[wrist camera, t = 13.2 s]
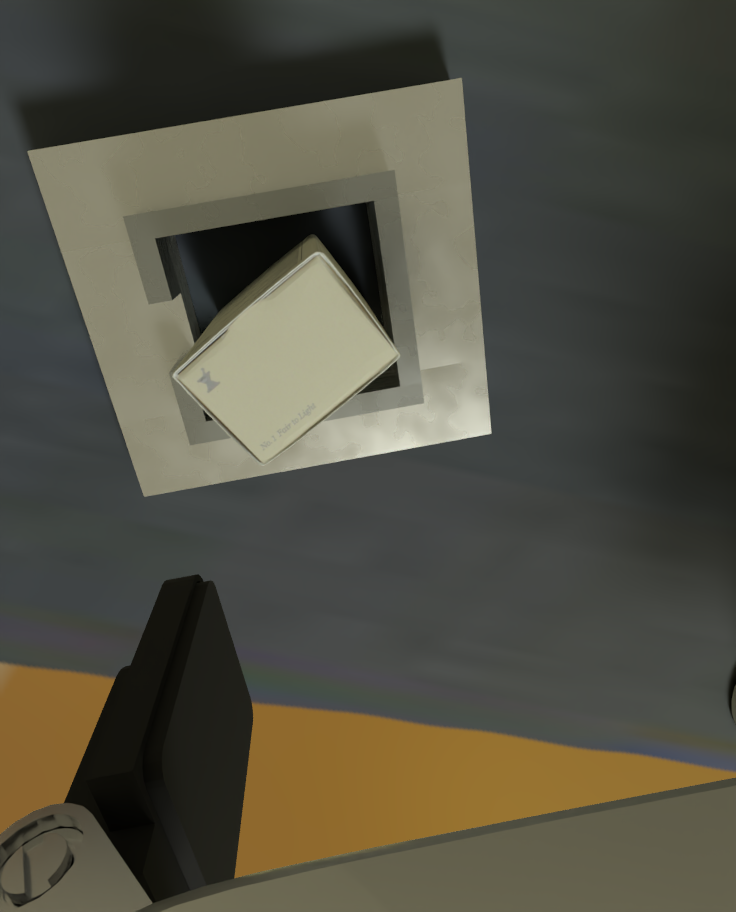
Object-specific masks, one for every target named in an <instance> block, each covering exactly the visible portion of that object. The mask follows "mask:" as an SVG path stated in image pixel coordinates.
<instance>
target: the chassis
mask: <svg viewBox="0 0 736 912" xmlns="http://www.w3.org/2000/svg"><path fill="white" fill-rule="evenodd" d="M27 152H28V155H29V158H30V161H31V164H32V167H33V170H34V173H35V176H36V179H37V182H38V184H39V187H40V190H41V193H42V196H43V199H44V202H45V205H46V208H47V211H48V214H49V217H50V220H51V223H52V226H53V229H54V232H55V235H56V238H57V241H58V244H59V247H60V250H61V252H62V255H63V258H64V261H65V264H66V267H67V270H68V273H69V276H70V279H71V282H72V285H73V288H74V291H75V294H76V297H77V300H78V303H79V306H80V309H81V312H82V315H83V317H84V320H85V323H86V326H87V329H88V332H89V335H90V338H91V341H92V344H93V347H94V350H95V353H96V356H97V359H98V362H99V365H100V368H101V371H102V374H103V377H104V380H105V382H106V385H107V388H108V391H109V394H110V397H111V400H112V403H113V406H114V409H115V412H116V415H117V418H118V421H119V424H120V427H121V430H122V433H123V436H124V439H125V442H126V445H127V447H128V450H129V453H130V456H131V459H132V462H133V465H134V468H135V471H136V474H137V477H138V480H139V483H140V486H141V489H142V492H143V495H144V497H146V496H151V495H157V494H162V493H168V492H173V491H179V490H184V489H190V488H195V487H201V486H206V485H212V484H217V483H223V482H228V481H234V480H239V479H245V478H250V477H256V476H261V475H267V474H272V473H278V472H283V471H289V470H294V469H300V468H305V467H311V466H316V465H322V464H327V463H333V462H338V461H344V460H349V459H355V458H360V457H366V456H371V455H377V454H382V453H388V452H393V451H399V450H404V449H410V448H415V447H421V446H426V445H432V444H437V443H443V442H448V441H454V440H459V439H465V438H470V437H476V436H481V435H487V434H491V424H490V412H489V400H488V388H487V376H486V364H485V352H484V340H483V328H482V316H481V304H480V292H479V280H478V268H477V256H476V244H475V232H474V220H473V208H472V196H471V184H470V172H469V160H468V148H467V136H466V124H465V112H464V100H463V88H462V78H458V79H453V80H447V81H441V82H435V83H429V84H423V85H417V86H411V87H405V88H399V89H393V90H387V91H381V92H375V93H369V94H363V95H357V96H351V97H346V98H340V99H334V100H328V101H322V102H316V103H310V104H304V105H298V106H292V107H286V108H280V109H274V110H268V111H262V112H256V113H250V114H244V115H239V116H233V117H227V118H221V119H215V120H209V121H203V122H197V123H191V124H185V125H179V126H173V127H167V128H161V129H155V130H149V131H143V132H138V133H132V134H126V135H120V136H114V137H108V138H102V139H96V140H90V141H84V142H78V143H72V144H66V145H60V146H54V147H48V148H42V149H36V150H31V151H27ZM363 202H366V207H367V214H368V221H369V228H370V234H371V241H372V248H373V255H374V262H375V268H376V275H377V282H378V289H379V296H380V303H381V309H382V316H383V323H384V330H385V331H386V333H387V334H388V336H389V338H390V339H391V340H392V342H393V343H394V345H395V347H396V348H397V349H398V351H399V353H400V357H399V359H398V360H397V361H396V362H394V363H393V364H392V365H391V366H390V367H389V368H388V369H386V370H385V371H384V372H383V373H382V374H380V375H379V376H378V377H377V378H376V379H374V380H373V381H372V382H371V383H370V384H368V385H367V386H366V387H365V388H364V389H363V390H361V391H360V392H359V393H358V394H356V395H355V396H354V397H353V398H352V399H350V400H349V401H348V402H347V403H345V404H344V405H343V406H342V407H340V408H339V409H338V410H337V411H336V412H334V413H333V414H332V415H331V416H329V417H328V418H327V419H326V420H325V421H323V422H322V423H321V424H319V425H318V426H317V427H316V428H314V429H313V430H312V431H310V432H309V433H308V434H307V435H305V436H304V437H303V438H302V439H300V440H299V441H297V442H296V443H295V444H294V445H292V446H291V447H290V448H288V449H287V450H286V451H284V452H283V453H281V454H280V455H279V456H277V457H276V458H275V459H273V460H272V461H270V462H269V463H267V464H266V465H264V466H262V465H259V464H258V463H256V462H255V461H254V460H253V459H252V458H251V457H250V456H249V455H248V454H247V453H246V452H245V451H244V450H243V449H242V448H241V447H240V446H239V445H238V444H237V443H236V442H235V441H234V440H233V439H232V438H231V437H229V436H228V435H227V433H226V432H225V431H224V430H223V429H222V428H221V427H220V426H219V425H218V424H217V423H216V422H215V421H214V420H213V419H212V418H211V417H210V416H209V415H208V414H207V413H206V412H205V411H204V410H203V409H202V408H201V407H200V406H199V404H198V403H197V402H196V401H195V400H194V399H193V398H192V397H191V396H190V395H189V394H188V393H187V392H186V391H185V390H184V388H183V387H182V386H181V385H180V384H179V383H178V382H177V381H176V380H175V379H174V378H173V377H172V374H173V372H174V370H175V369H176V368H177V366H178V365H179V364H180V362H181V361H182V360H183V358H184V357H185V356H186V355H187V353H188V352H189V351H190V349H191V348H192V347H193V345H194V344H195V343H196V341H197V340H198V339H199V338H200V336H201V333H200V329H199V325H198V321H197V318H196V314H195V310H194V306H193V303H192V299H191V295H190V291H189V287H188V284H187V280H186V276H185V272H184V269H183V265H182V261H181V257H180V254H179V250H178V246H177V242H176V239H175V235H177V234H183V233H189V232H195V231H201V230H206V229H212V228H218V227H224V226H230V225H235V224H241V223H247V222H253V221H259V220H265V219H270V218H276V217H282V216H288V215H294V214H299V213H305V212H311V211H317V210H323V209H328V208H334V207H340V206H346V205H352V204H357V203H363Z"/></svg>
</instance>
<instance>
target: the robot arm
mask: <svg viewBox="0 0 736 912" xmlns="http://www.w3.org/2000/svg"><path fill="white" fill-rule="evenodd" d="M732 715H733V719H734V722H735V725H736V685H735V687H734V692H733V696H732ZM252 725H253V710H252V703H251V698H250V695H249V692H248V689H247V686H246V682H245V679H244V676H243V673H242V670H241V666H240V663H239V660H238V657H237V654H236V651H235V647H234V644H233V641H232V638H231V635H230V631H229V628H228V625H227V622H226V619H225V615H224V612H223V609H222V606H221V603H220V600H219V596H218V593H217V590H216V587H215V585H214V583H213V581H206V582H203V579H202V578H201V576H200V575H198V574H197V575H192V576H187V577H181V578H176V579H171V580H166V581H164V583H163V585H162V587H161V590H160V592H159V595H158V597H157V600H156V602H155V605H154V607H153V610H152V613H151V615H150V618H149V620H148V623H147V625H146V628H145V630H144V633H143V635H142V638H141V640H140V643H139V645H138V648H137V651H136V653H135V656H134V658H133V661H132V663H131V665H130V666H125V667H124V668H122V669H121V670H120V672H119V673H118V675H117V677H116V679H115V681H114V684H113V686H112V689H111V691H110V693H109V696H108V698H107V701H106V703H105V706H104V708H103V710H102V713H101V715H100V717H99V720H98V722H97V725H96V727H95V729H94V732H93V734H92V737H91V739H90V741H89V744H88V746H87V749H86V751H85V754H84V756H83V758H82V761H81V763H80V766H79V768H78V770H77V773H76V775H75V778H74V780H73V782H72V785H71V787H70V790H69V792H68V795H67V797H66V799H65V802H64V803H63V804H54V805H50V806H47V807H44V808H42V809H39V810H36V811H33V812H32V813H30V814H28V815H27V816H25V817H23V818H22V819H20V820H18V821H16V822H15V823H13V824H12V825H11V826H10V827H9V828H7V829H6V830H5V831H4V832H3V833H1V834H0V912H736V778H732V779H727V780H721V781H716V782H711V783H706V784H700V785H695V786H690V787H684V788H679V789H674V790H668V791H663V792H658V793H652V794H647V795H642V796H637V797H632V798H626V799H622V800H616V801H611V802H605V803H600V804H595V805H590V806H585V807H579V808H574V809H569V810H563V811H558V812H553V813H548V814H543V815H538V816H533V817H527V818H523V819H517V820H512V821H507V822H502V823H497V824H492V825H487V826H482V827H477V828H471V829H467V830H462V831H456V832H451V833H446V834H441V835H436V836H431V837H426V838H420V839H415V840H410V841H405V842H400V843H395V844H390V845H385V846H380V847H375V848H370V849H365V850H361V851H356V852H351V853H346V854H342V855H338V856H332V857H328V858H323V859H318V860H314V861H309V862H304V863H300V864H295V865H290V866H286V867H281V868H277V869H272V870H268V871H263V872H258V873H254V874H250V875H246V876H242V877H239V878H234V875H235V867H236V859H237V850H238V841H239V833H240V824H241V817H242V808H243V800H244V791H245V783H246V775H247V766H248V758H249V750H250V741H251V732H252Z"/></svg>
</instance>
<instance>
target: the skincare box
mask: <svg viewBox="0 0 736 912" xmlns="http://www.w3.org/2000/svg"><path fill="white" fill-rule="evenodd" d="M399 357H400V353H399V351H398V349H397V348H396V347H395V345H394V343H393V342H392V340H391V339H390V338H389V336H388V334H387V333H386V331H385V330H384V328H383V327H382V325H381V324H380V322H379V321H378V319H377V318H376V316H375V315H374V313H373V312H372V310H371V308H370V307H369V305H368V304H367V302H366V300H365V299H364V298H363V296H362V295H361V294H360V292H359V291H358V290H357V288H356V287H355V286H354V284H353V283H352V282H351V280H350V279H349V278H348V276H347V275H346V274H345V272H344V271H343V270H342V268H341V267H340V266H339V264H338V263H337V262H336V260H335V259H334V258H333V256H332V255H331V254H330V253H329V251H328V250H327V249H326V248H325V246H324V245H323V244H322V242H321V241H320V240H319V239H318V237H317V236H315V235H313V234H311V235H309V236H308V237H306V238H305V239H304V240H303V241H301V242H300V243H299V244H298V245H296V246H295V247H294V248H293V249H291V250H290V251H289V252H288V253H286V254H285V255H284V256H283V257H282V258H280V259H279V260H278V261H277V262H276V263H274V264H273V265H272V266H271V267H270V268H268V269H267V270H266V271H265V272H264V273H262V274H261V275H260V276H259V277H258V278H257V279H255V280H254V281H253V282H252V283H251V284H250V285H248V286H247V287H246V288H245V289H244V290H243V291H241V292H240V293H239V294H238V295H237V296H236V297H235V298H234V299H232V300H231V301H230V302H229V303H228V304H227V305H226V306H225V307H223V308H222V309H221V310H220V311H219V312H218V314H217V315H216V316H215V318H214V319H213V320H212V322H211V323H210V324H209V326H208V327H207V328H206V329H205V331H204V332H203V334H202V335H201V336H200V338H199V339H198V340H197V341H196V343H195V344H194V345H193V347H192V348H191V349H190V351H189V352H188V353H187V355H186V356H185V357H184V358H183V360H182V361H181V362H180V364H179V365H178V366H177V368H176V369H175V370H174V372H173V374H172V377H173V378H174V379H175V380H176V381H177V382H178V383H179V384H180V385H181V386H182V387H183V388H184V390H185V391H186V392H187V393H188V394H189V395H190V396H191V397H192V398H193V399H194V400H195V401H196V402H197V403H198V404H199V406H200V407H201V408H202V409H203V410H204V411H205V412H206V413H207V414H208V415H209V416H210V417H211V418H212V419H213V420H214V421H215V422H216V423H217V424H218V425H219V426H220V427H221V428H222V429H223V430H224V431H225V432H226V433H227V435H228V436H229V437H231V438H232V439H233V440H234V441H235V442H236V443H237V444H238V445H239V446H240V447H241V448H242V449H243V450H244V451H245V452H246V453H247V454H248V455H249V456H250V457H251V458H252V459H253V460H254V461H255V462H256V463H258V464H259V465H262V466H264V465H266V464H267V463H269V462H270V461H272V460H273V459H275V458H276V457H277V456H279V455H280V454H281V453H283V452H284V451H286V450H287V449H288V448H290V447H291V446H292V445H294V444H295V443H296V442H297V441H299V440H300V439H302V438H303V437H304V436H305V435H307V434H308V433H309V432H310V431H312V430H313V429H314V428H316V427H317V426H318V425H319V424H321V423H322V422H323V421H325V420H326V419H327V418H328V417H329V416H331V415H332V414H333V413H334V412H336V411H337V410H338V409H339V408H340V407H342V406H343V405H344V404H345V403H347V402H348V401H349V400H350V399H352V398H353V397H354V396H355V395H356V394H358V393H359V392H360V391H361V390H363V389H364V388H365V387H366V386H367V385H368V384H370V383H371V382H372V381H373V380H374V379H376V378H377V377H378V376H379V375H380V374H382V373H383V372H384V371H385V370H386V369H388V368H389V367H390V366H391V365H392V364H393V363H394V362H396V361H397V360H398V359H399Z"/></svg>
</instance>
